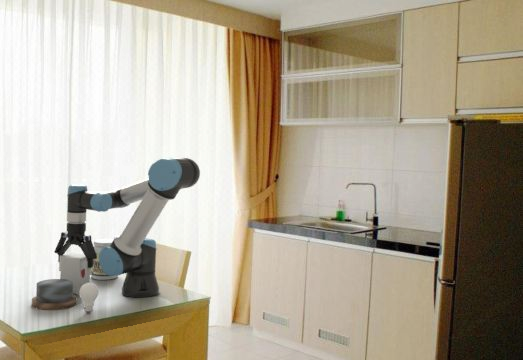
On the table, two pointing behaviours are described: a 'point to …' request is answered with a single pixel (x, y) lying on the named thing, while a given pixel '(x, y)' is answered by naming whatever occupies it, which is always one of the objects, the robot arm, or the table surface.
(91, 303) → the light bulb
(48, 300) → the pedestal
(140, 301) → the table surface
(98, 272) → the supplement tub
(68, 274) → the supplement box
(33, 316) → the table surface
